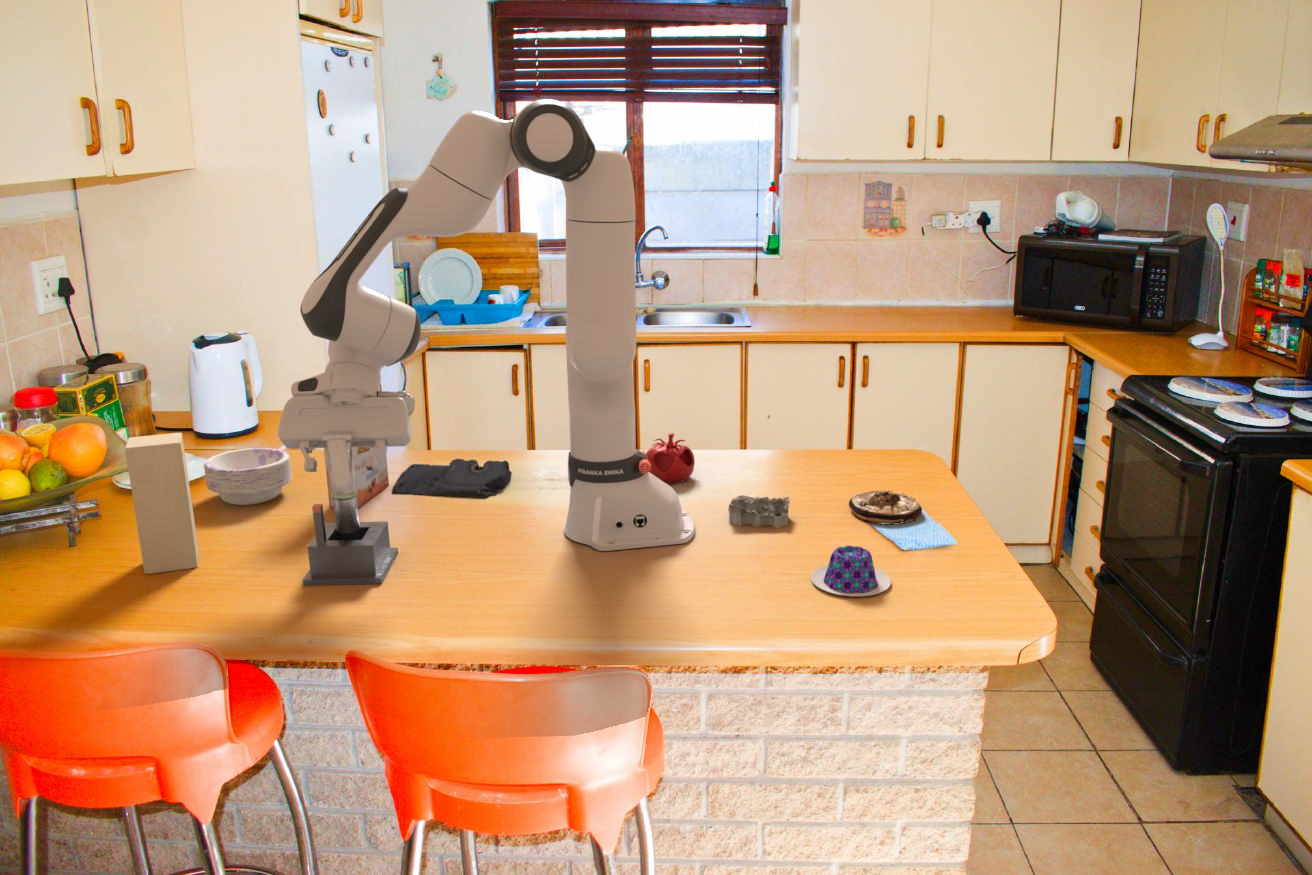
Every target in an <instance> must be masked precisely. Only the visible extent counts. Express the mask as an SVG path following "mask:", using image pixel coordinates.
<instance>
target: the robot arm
mask: <svg viewBox="0 0 1312 875" xmlns="http://www.w3.org/2000/svg"><path fill="white" fill-rule="evenodd" d="M519 168H525V169H528V170H530V171H532V172H534V173H536V174H540V175H544V176H547V177H551V178H554V179H557V180H560V181H561V184H562V186H563V189H564V194H565V280H566V281H565V283H566V285H565V286H566V287H565V289H566V291H565V292H566V298H565V299H566V325H565V349H566V350H565V351H566V352H565V353H566V372H567V374H566V375H567V395H568V396H567V399H568V418H569V420H568V423H569V444H570V447H569V448H570V451H569V452H568V455H567V456H568V457H567V478H568V483H569V487H570V492H569V493H570V494H569V503H568V504H569V505H568V511H567V517H566V522H565V525H564V529H563V533H564V535H565V536H566V537H567V538H568V539H570V540H571V541H573V542H576V543H580V544H583V545H587V546H590V547H592V548H593V549H595V550H597V551H600V552H608V551H609V552H610V551H618V550H629V549H639V548H640V549H641V548H648V547H649V548H651V547H660V546H670V545H680V544H686V543H688V542H689V541H691V540H692V539H693V538H694V535H695V532H696V531H695V522H694V519H693V517H692V516H691V514H689V512H687V511H685V510H683V509H682V505H681V502H680V499H679V496H678V494H677V492H676V490H675V489H674V488H673V487H672V486H671V485H670V484H669V483H665V482H663V481H662V480H660V479H659V478H657V477H656V476H654V475H653V474H651V473H650V472H649V471H650V470H651V469H650V468H651V463H650V461H649V460H648V456H647V455H646V453H647V452H645V450H642V451H640V449H637V447H636V445H637V443H636V440H637V438H636V405H635V404H636V403H635V392H634V377H633V363H634V361H635V358H636V355H637V301H636V300H637V299H636V297H637V296H636V294H637V293H636V275H635V274H636V272H635V271H636V270H635V268H636V198H635V186H634V180H633V174H632V167H631V164H630V161H629V159H628V158H627V156H626V155H625V154H624V153H622V152H621V151H619V150H617V149H615V148H612V147H609V146H602V145H601V146H599V145H595V144H594V142H593V140H592V138H591V137H590V134H589V133H588V130H587V129H586V127H585V125H584V123H583V121H582V119H581V118H580V116H579V115H578V113H576V111H575V110H574V109H572V108H571V107H570V106H569V105H567V104H566V103H564V102H561V101H559V100H556V99H549V98H544V99H538V100H535V101H531V102H530V103H529V104H527V105H525V106H524V107H522V109H521V110H520V111H519V112H518V113H516V114H515V115H513V116H511V117H510V118H508V119H506V120H505V119H501V118H499V117H497V116H495V115H493V114H491V113H489V112H485V111H480V110H473V111H471V110H470V111H468V112H465V113H464V114H462V115H461V116H460V117H459V118H458V119H457V120H456V122H455V123H453V126H452V127H451V128H450V129H449V130H448V132H447V133H446V135H445V136H444V138H442V140H441V142H440V143H439V145H438V147H437V148H436V150H435V152H434V153H433V155H432V156H431V159H430V161H429V163H427V165H426V168H425V169H424V171H423V172H422V173H421V174H420V175H419V176H418V177H417V178H416V179H415V180H414V181H412V182H410V184H407V185H406V186H403V187H395V188H392V189H390V191H388V192H387V193H386V194H385V195H384V196H383V197H382V198H381V199H380V200H379V201H378V203H376V205H375V206H374V207H373V209H372V210H371V211H370V212H369V213H368V215H367V216H366V217H365V218H364V220H363V222H361V224H360V225H359V226H358V228H357V229H356V230H355V232H353V234H352V236H351V237H350V238H349V239H348V241H347V242H346V243H345V245H344V246H343V247H342V248H341V250H340V251H339V252H338V254H337V255H336V256H335V258H334V259H332V261H331V262H330V264H329V265H328V266H327V267H325V269H324V270H323V271H322V272H321V273H320V274H319V275H318V276H317V277H316V278H315V279H314V280H313V281H312V283H311V284H310V286H309V287H308V289H307V290H306V292H305V293H304V295H303V298H302V301H301V304H300V314H301V318H302V320H303V322H304V324H305V326H306V328H307V329H308V330H309V332H310V333H311V335H312V336H314V337H318V338H321V339H325V340H328V346H327V355H328V363H327V364H326V366H325V369H324V372H322V373H320V374H316V375H313V376H311V377H307V378H305V379H299V380H298V381H295V382H293V383H292V384H291V385H290V386H291V388H290V392H291V395H292V397H291V398H289V399H288V400H287V401H286V403H285V404H284V406H283V409H282V412H281V416H280V420H279V423H278V428H277V436H278V439H279V440H280V442H281V443H282V444H283V445H284V447H285V448H287V449H299V450H300V451H301V454H302V455H303V457H304V463H303V469H304V471H305V472H306V473H316V472H317V470H318V461H317V460H316V457H311V456H310V455H309V454H312V453H313V449H324V448H327V441H326V440H322V434H323V433H324V432H325V431H354V435H355V436H354V437H353V438H352V439H351V444H352V447H376V448H377V449H376V451H375V452H374V454H373V455H372V456H367V458H366V461H367V462H366V469H367V470H368V471H377V470H378V463H379V461H380V460H381V459H382V457H383V456H384V455H385V454H386V455H387V452H388V448H389V447H407V445H409V443H410V442H411V441H412V419H411V415H412V414H413V413H414V410H415V406H416V405H415V404H416V400H415V397H414V396H413V395H412V394H410V393H407V391H404V390H403V391H402V390H398V391H390V390H389V391H387V390H386V391H385V390H384V391H380V384H381V380H382V379H381V378H382V377H381V371H382V369H383V368H384V367H390V366H393V365H395V364H398V363H399V362H402V361H404V360H406V359H408V358H410V357H411V356H412V355H413V354H414V352H416V350H417V348H418V346H419V345H418V344H419V342H420V338H421V332H422V325H421V320H420V317H419V314H418V312H417V311H416V310H417V309H415V308H414V307H412V306H411V305H409V304H408V303H405V302H403V301H400V300H398V299H396V298H393V297H391V296H389V295H386V294H383V293H381V292H379V291H377V290H374V289H371V288H369V287H367V286H365V285H362V284H360V283H359V282H360V281H361V279H362V278H363V276H364V275H365V274H366V273H367V271H368V270H369V269H370V268H371V266H372V264H374V262H375V261H376V260H377V258H378V257H379V256H380V254H381V253H382V252H383V251H384V249H385V247H386V246H388V245H389V244H390V243H391V242H393V241H394V240H396V239H399V238H402V237H407V236H408V237H409V236H426V237H437V238H450V237H452V238H453V237H457V236H462V235H464V234H466V233H469V232H471V231H472V230H474V229H476V227H478V226H479V224H480V223H481V221H482V220H483V219H484V217H485V216H486V214H487V213H488V210H490V207H491V205H492V203H493V201H494V199H495V197H496V196H497V194H498V192H499V190H500V188H501V186H502V185H503V183H504V181H505V180H506V179H507V177H508V176H509V175H510V174H511V173H512V172H513V171H515V170H517V169H519Z"/></svg>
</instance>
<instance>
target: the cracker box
mask: <svg viewBox="0 0 1312 875" xmlns="http://www.w3.org/2000/svg"><path fill="white" fill-rule="evenodd" d="M382 390H383V389H382V384H381V383H380V391H382ZM376 449H377V448H376V447H352V454H353V464H354V474H355V483H356V489H357V493H358V496H357V503H358V508H360V507H361V506H362V505H364V504H365V503H367V502H368V501H369V500H370V499H372V498H373V497H375V496H376V495H378V494H379V493H380V492H382V491H383V490H384V489H385V488H388V486H389V485H390V482H389V472H388V458H387V456H388V454H387V453H386V454H385V455H384V456H383V457H382V459H381V460H380V461H379V463H378V470H377V471H368V470H367V469H366V462H367V461H366V458H367V456H372V455H373V454H374V452H375V451H376ZM323 452H324V462H325V463H324V464H325V474H326V486H327V493H328V505H329V508H334V504H333V499H332V496H331V492H332V486H331V477H330V468H329V459H328V450H327V448H323Z"/></svg>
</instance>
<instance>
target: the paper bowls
mask: <svg viewBox="0 0 1312 875" xmlns="http://www.w3.org/2000/svg"><path fill="white" fill-rule="evenodd" d="M290 457H291V456H290V454H289V453H288V452H287V451H284V450H282V449H277V448H271V447H270V448H269V447H254V448H253V447H252V448H251V447H250V448H241V449H235V450H230V451H225V452H222V453H221V452H220V453H218V454H216V455H213V456H210V457H209V458H207V459H206V460H205V461H204V464H203V468H204V478H205V484H206V488H207V489H208V490H209V491H211V492H212V493H217V494H218V495H219V497H220V498H221V499H222V500H223V501H224V502H225V503H227V504H232V505H236V506H248V505H249V506H250V505H257V504H262V503H266V502H269V501H271V500H273V499H275V498H276V497H278V495H280V493H281V491H282V488H283V487H284V486H286V485H288V484H289V483H290V482H291V481H292V479H293V478H292V467H291V458H290Z"/></svg>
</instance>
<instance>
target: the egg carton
mask: <svg viewBox="0 0 1312 875" xmlns="http://www.w3.org/2000/svg"><path fill="white" fill-rule="evenodd" d="M789 507H790V496H787V497H778V498H776V497H772V498H771V499H770V497H768V496H766V497H765V496H764V497H758V496H756V497H750V496H747V495H745V494H743V495H739V496H738V495H737V496H736V497H733V498H732V500H731V501H730V503H729V504H728V517H729V518H728V521H729V522H728V523H729V524H733V525H734V526H739V527H741V526H743V525H751V526H753V527H762V526H772V527H773V528H777V529H778V528H781V527H786V526H788V519H789ZM776 515H777V516H776ZM778 515H780V516H778Z"/></svg>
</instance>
